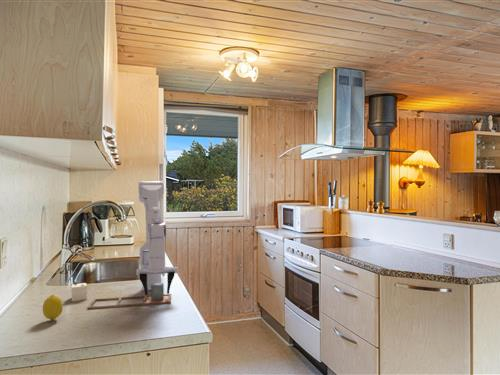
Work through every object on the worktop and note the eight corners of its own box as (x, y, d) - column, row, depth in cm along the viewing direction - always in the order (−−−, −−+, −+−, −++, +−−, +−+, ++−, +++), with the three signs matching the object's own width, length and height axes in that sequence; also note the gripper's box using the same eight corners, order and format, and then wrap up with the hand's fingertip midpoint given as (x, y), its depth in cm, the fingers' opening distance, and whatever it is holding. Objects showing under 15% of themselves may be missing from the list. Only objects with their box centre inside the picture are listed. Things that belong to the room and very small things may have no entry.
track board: (94, 300, 136) (94, 298, 136) (171, 295, 141) (171, 293, 141) (87, 309, 126) (87, 307, 126) (170, 303, 131) (170, 301, 131)
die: (71, 297, 140) (71, 284, 140) (86, 295, 142) (86, 282, 142) (71, 301, 135) (71, 287, 135) (86, 299, 137) (86, 285, 137)
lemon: (40, 324, 112) (40, 298, 112) (45, 318, 118) (45, 293, 118) (60, 322, 114) (60, 296, 114) (64, 316, 119) (64, 291, 119)
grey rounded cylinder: (151, 298, 137) (151, 283, 137) (163, 297, 138) (163, 282, 138) (150, 301, 133) (150, 286, 133) (163, 300, 133) (163, 285, 133)
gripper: (135, 259, 130) (135, 298, 130) (177, 257, 133) (177, 295, 133) (137, 255, 137) (137, 292, 137) (177, 254, 140) (177, 290, 140)
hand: (157, 293), depth 135 cm, fingers open, 7 cm apart
